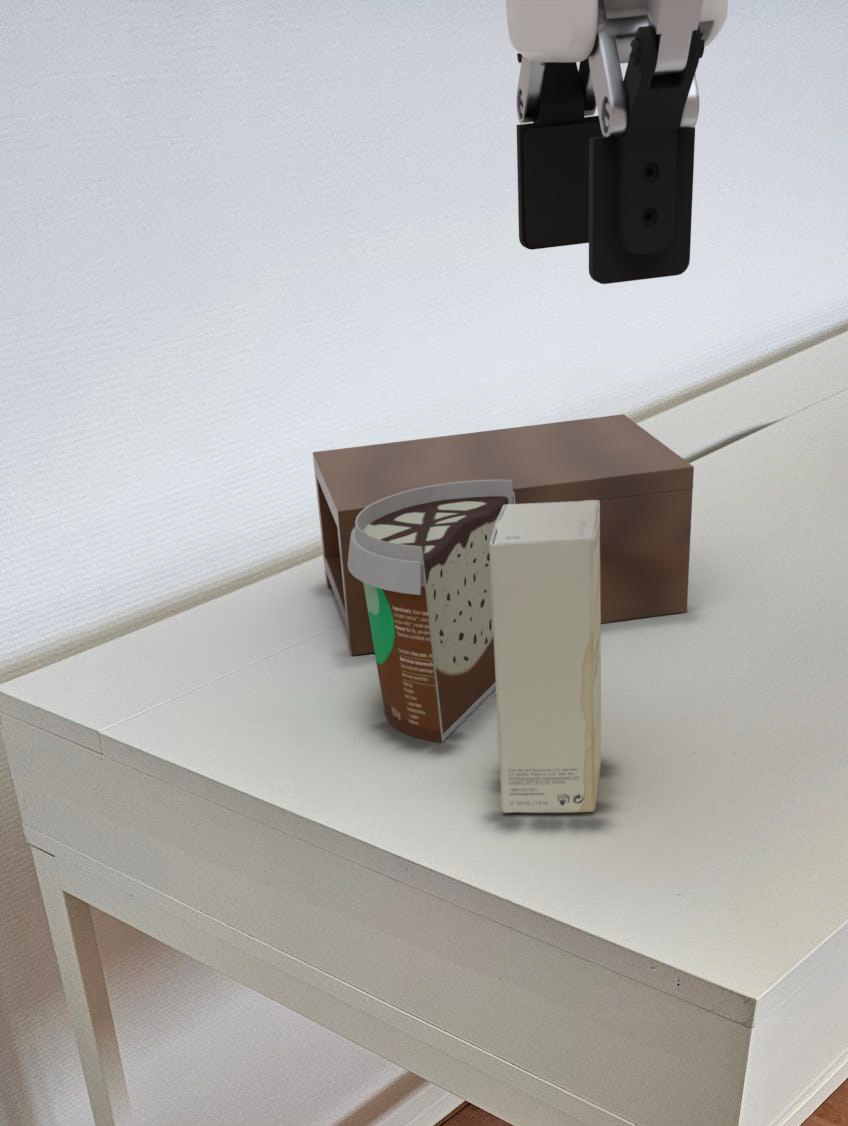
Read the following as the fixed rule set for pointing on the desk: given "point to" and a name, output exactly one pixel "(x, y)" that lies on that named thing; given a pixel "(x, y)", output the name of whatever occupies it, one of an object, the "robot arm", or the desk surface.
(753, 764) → the desk surface
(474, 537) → the food container
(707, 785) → the desk surface
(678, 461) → the shelf
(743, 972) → the desk surface
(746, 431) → the desk surface
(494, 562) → the cosmetic box
